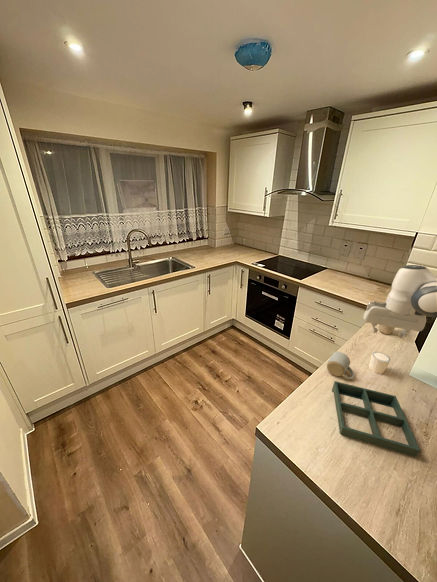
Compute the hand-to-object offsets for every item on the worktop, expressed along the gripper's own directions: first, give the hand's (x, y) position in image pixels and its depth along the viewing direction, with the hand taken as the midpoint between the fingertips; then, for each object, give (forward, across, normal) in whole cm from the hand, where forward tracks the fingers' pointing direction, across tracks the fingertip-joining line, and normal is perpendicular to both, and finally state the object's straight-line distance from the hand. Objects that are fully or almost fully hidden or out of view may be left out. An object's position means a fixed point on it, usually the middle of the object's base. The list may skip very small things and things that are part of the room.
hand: (386, 334), depth 97 cm
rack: (+18, -9, -30) cm, 36 cm away
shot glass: (+18, +1, 0) cm, 18 cm away
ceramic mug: (+18, -15, -8) cm, 25 cm away
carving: (+18, +14, +36) cm, 42 cm away
